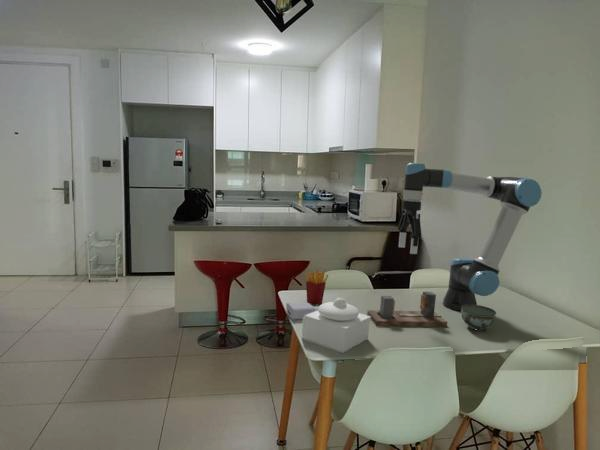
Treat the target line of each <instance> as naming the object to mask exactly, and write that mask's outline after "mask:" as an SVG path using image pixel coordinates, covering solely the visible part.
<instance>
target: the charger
mask: <svg viewBox="0 0 600 450" xmlns="http://www.w3.org/2000/svg"><path fill="white" fill-rule="evenodd" d="M285 307H286V308H285V309H286V310H285V313H286V314H287V315H288V317H289V318H290V319H291V320H293V321H294V320H295V321H296V320H303V317H305V315H307V314H310V313H312V312H315V311H318V308H319V306H318V305H316V306H314V305H313V304H310V303H307V301H306V302H305V301H303V302H287V303H286V305H285Z"/></svg>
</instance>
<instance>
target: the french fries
mask: <svg viewBox="0 0 600 450" xmlns="http://www.w3.org/2000/svg"><path fill="white" fill-rule="evenodd" d="M328 278H329V274H326V276H325V271H323V270H322V271H318V270H315V271H312V270H311V271H310V272H306V279H307V280H306V281H305V288H306V289H305V291H306V302H307V303H309V304H311V305H312V306H318V305H322V304H323V300H324V299H323V298H324V293H325V288H326V282H327V280H328Z"/></svg>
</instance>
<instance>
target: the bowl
mask: <svg viewBox="0 0 600 450" xmlns="http://www.w3.org/2000/svg"><path fill="white" fill-rule="evenodd" d="M460 314H461V318H462V320H463V322H464V323H465V324H466V325H467V327H468V328H469V329H470V328H472V329H477V330H482V331H484V330H485V329H486V328H488V327H490V326H491V325H492V324H493V322H494V320H495V317H496V315H497V312H496V311H495V310H494V309H493V308H491V307H487V306H483V305H481V304H480V305H479V304H477V305H471V304H467V305H463V306H461V311H460ZM472 329H471V330H472ZM483 329H484V330H483ZM477 330H476V331H477Z"/></svg>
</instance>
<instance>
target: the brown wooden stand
mask: <svg viewBox="0 0 600 450" xmlns="http://www.w3.org/2000/svg"><path fill="white" fill-rule="evenodd" d="M436 298H437V295H436V294H435V293H434V292H433V291H423V292H422V294H421V295H420V305H419V309H420V310H394V315H392V319H382V318H381V317H380V310H373V309H372V310H369V309H368V310H367V311H366V312H367V313H366V314H367V316H371V319H370V321H372V323H374V325H375V326H376V327H448V321H447V320H446V319H445V318H443V317H442V314H438V313H437V312H436V311H435V308H436Z"/></svg>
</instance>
